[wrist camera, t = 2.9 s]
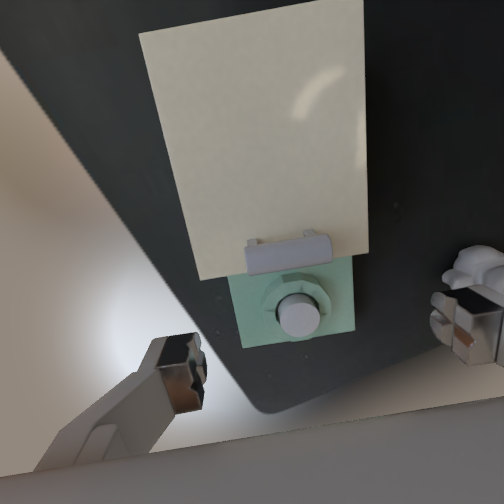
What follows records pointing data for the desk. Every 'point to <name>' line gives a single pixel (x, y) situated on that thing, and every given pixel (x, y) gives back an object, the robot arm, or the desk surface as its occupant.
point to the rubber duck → (477, 269)
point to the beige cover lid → (266, 134)
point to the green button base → (287, 283)
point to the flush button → (298, 315)
